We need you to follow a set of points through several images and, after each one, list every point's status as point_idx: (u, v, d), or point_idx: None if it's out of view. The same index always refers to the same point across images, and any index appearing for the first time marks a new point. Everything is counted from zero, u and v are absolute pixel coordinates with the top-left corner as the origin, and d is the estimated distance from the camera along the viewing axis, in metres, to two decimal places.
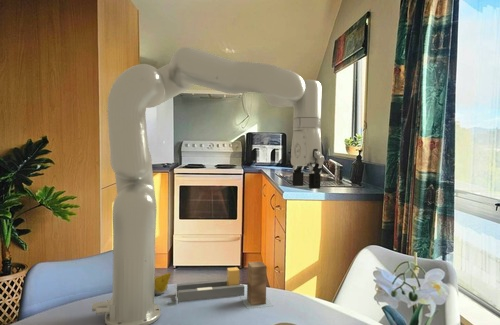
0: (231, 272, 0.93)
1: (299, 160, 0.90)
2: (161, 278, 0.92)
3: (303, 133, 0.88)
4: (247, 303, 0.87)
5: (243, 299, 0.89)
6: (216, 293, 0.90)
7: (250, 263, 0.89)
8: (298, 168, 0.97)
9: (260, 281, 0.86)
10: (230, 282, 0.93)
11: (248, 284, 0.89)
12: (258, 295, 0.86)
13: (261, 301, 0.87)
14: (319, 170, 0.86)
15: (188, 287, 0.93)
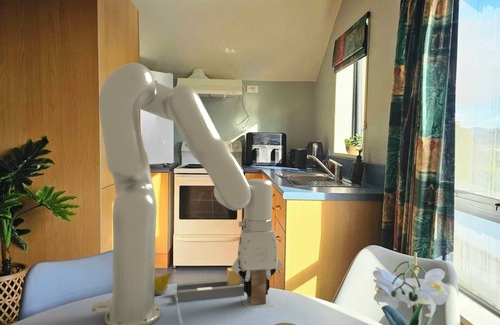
0: (231, 272, 0.93)
1: (265, 264, 0.86)
2: (161, 278, 0.92)
3: (271, 236, 0.87)
4: (247, 303, 0.87)
5: (243, 299, 0.89)
6: (216, 293, 0.90)
7: None
8: None
9: (260, 281, 0.86)
10: (230, 282, 0.93)
11: None
12: (258, 295, 0.86)
13: (261, 301, 0.87)
14: None
15: (188, 287, 0.93)
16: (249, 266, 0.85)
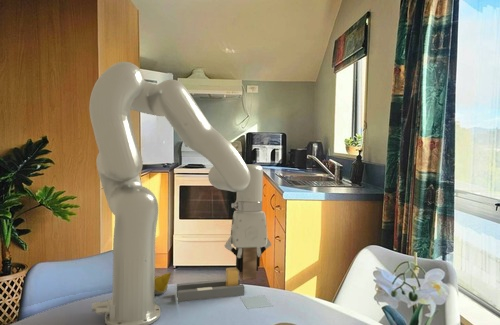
0: (230, 272, 0.93)
1: (255, 242, 0.93)
2: (161, 278, 0.92)
3: (261, 216, 0.94)
4: (247, 303, 0.87)
5: (243, 299, 0.89)
6: (216, 293, 0.90)
7: None
8: None
9: (251, 257, 0.94)
10: (229, 282, 0.93)
11: None
12: (249, 271, 0.94)
13: (252, 276, 0.94)
14: None
15: (188, 287, 0.93)
16: (241, 243, 0.92)
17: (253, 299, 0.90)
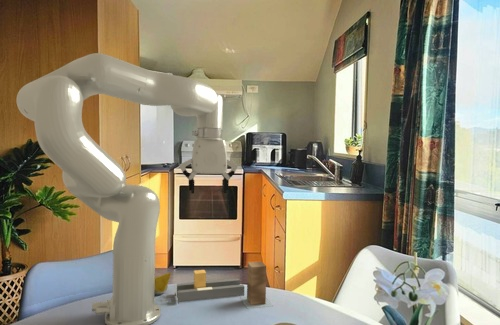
0: (197, 275, 0.90)
1: (215, 168, 0.96)
2: (161, 278, 0.92)
3: (221, 143, 0.97)
4: (247, 303, 0.87)
5: (243, 299, 0.89)
6: (216, 293, 0.90)
7: (250, 263, 0.89)
8: None
9: (259, 281, 0.86)
10: (196, 285, 0.90)
11: (248, 284, 0.89)
12: (258, 295, 0.86)
13: (261, 301, 0.87)
14: None
15: (188, 287, 0.93)
16: (200, 169, 0.95)
17: None
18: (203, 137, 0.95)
